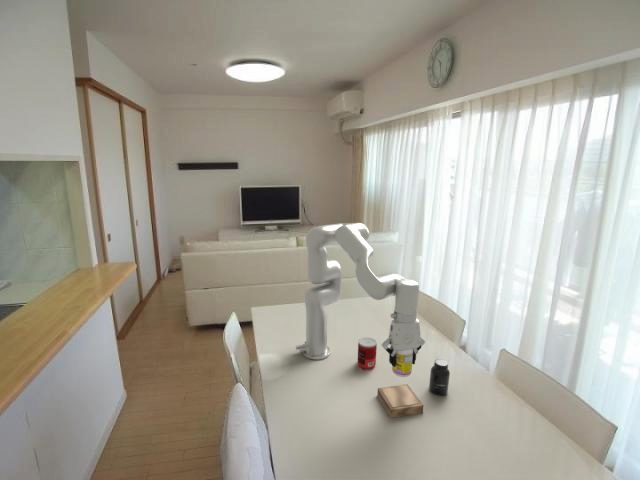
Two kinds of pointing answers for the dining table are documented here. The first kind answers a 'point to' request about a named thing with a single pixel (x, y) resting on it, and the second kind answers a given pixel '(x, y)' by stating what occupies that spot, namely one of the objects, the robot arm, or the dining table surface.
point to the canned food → (367, 353)
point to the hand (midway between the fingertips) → (402, 363)
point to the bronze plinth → (400, 400)
